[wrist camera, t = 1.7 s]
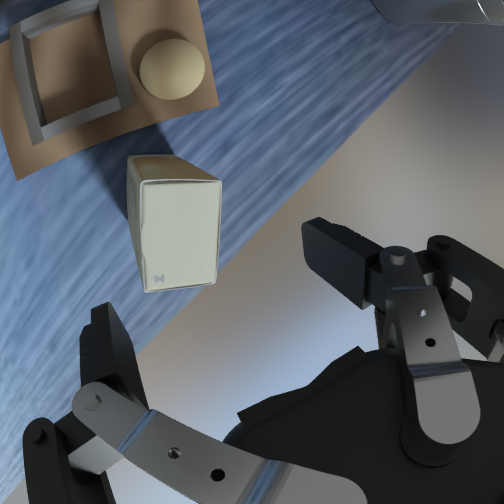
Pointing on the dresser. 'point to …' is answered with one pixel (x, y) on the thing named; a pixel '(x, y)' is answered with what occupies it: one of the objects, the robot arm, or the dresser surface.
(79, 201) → the dresser surface
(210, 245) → the skincare box
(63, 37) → the carrier plate
